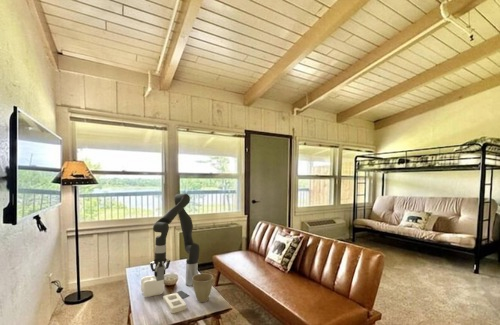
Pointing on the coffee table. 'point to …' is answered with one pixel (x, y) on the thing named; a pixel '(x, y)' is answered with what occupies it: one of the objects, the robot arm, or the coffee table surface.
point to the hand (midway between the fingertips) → (159, 275)
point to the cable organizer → (151, 286)
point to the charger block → (160, 273)
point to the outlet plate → (174, 302)
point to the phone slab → (182, 294)
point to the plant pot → (202, 286)
